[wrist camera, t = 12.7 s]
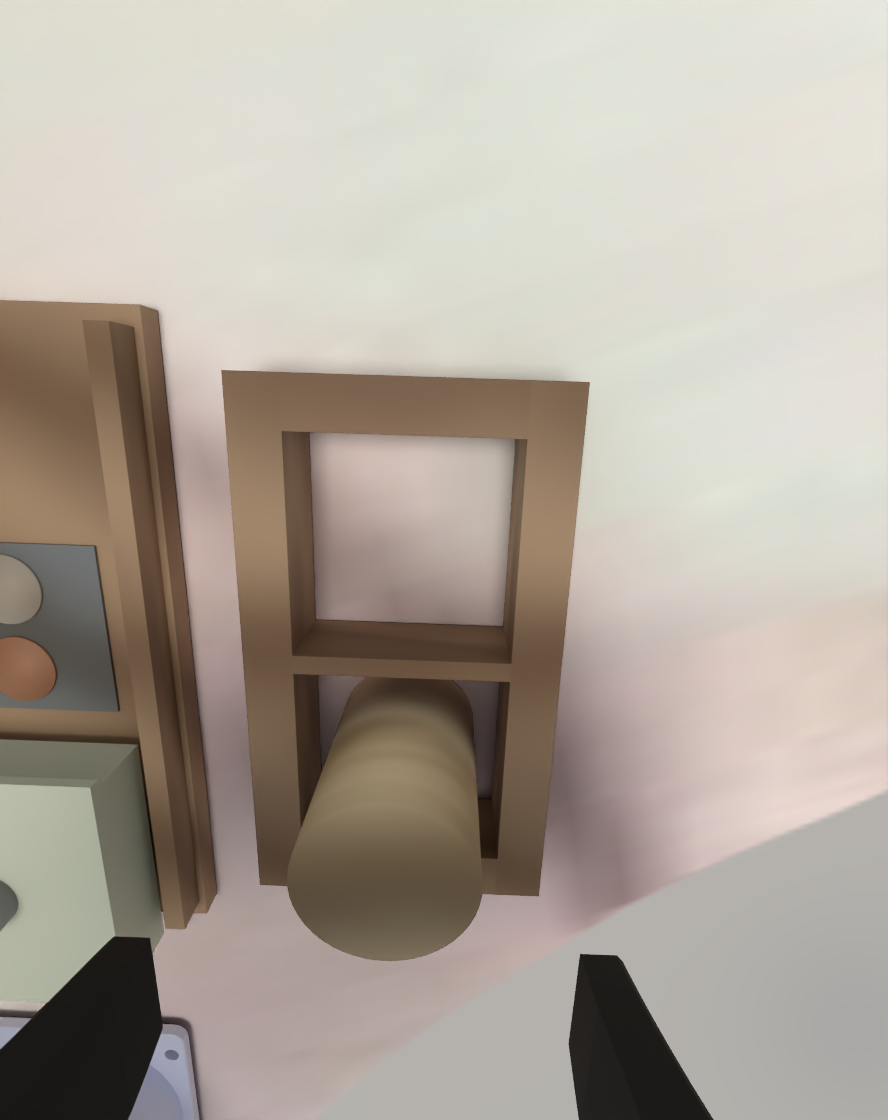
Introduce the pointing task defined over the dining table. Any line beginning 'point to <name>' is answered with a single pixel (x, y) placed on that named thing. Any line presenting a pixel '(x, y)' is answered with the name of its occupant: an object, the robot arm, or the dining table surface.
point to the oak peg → (393, 824)
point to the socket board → (400, 648)
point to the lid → (70, 860)
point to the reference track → (100, 567)
